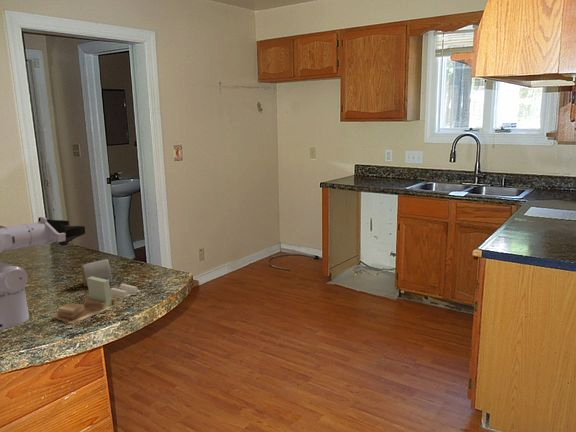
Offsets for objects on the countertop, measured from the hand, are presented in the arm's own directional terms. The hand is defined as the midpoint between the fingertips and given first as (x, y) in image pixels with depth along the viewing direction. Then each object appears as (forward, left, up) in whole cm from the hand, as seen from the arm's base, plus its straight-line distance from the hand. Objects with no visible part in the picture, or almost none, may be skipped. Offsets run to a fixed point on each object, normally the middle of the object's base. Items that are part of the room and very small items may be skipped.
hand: (76, 227), depth 129 cm
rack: (-6, -10, -21) cm, 24 cm away
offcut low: (-11, -10, -20) cm, 25 cm away
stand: (+6, -9, -21) cm, 24 cm away
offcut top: (-11, -10, -19) cm, 24 cm away
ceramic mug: (+8, +5, -21) cm, 23 cm away
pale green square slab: (-2, -10, -20) cm, 22 cm away
